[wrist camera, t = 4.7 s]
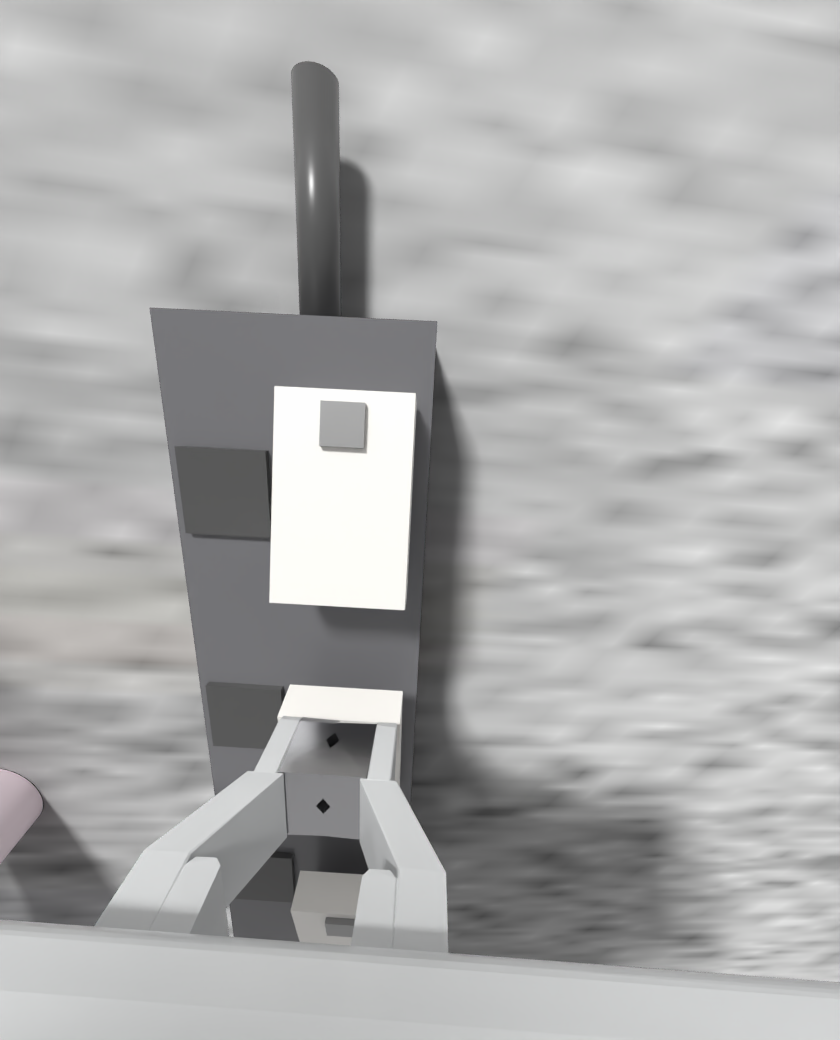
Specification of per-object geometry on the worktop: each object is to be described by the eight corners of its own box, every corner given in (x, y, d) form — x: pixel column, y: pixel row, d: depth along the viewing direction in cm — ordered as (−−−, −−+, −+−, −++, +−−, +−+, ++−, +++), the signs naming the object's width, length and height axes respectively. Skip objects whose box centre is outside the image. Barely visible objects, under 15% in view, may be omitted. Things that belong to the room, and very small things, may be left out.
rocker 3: (300, 870, 13) (288, 917, 12) (394, 876, 13) (391, 924, 12) (313, 926, 15) (304, 970, 14) (393, 931, 15) (390, 976, 14)
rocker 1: (289, 396, 10) (271, 383, 9) (416, 403, 10) (415, 391, 9) (284, 591, 10) (266, 604, 9) (406, 598, 10) (404, 612, 9)
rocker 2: (289, 684, 11) (274, 722, 10) (402, 691, 11) (399, 730, 10) (307, 782, 13) (296, 821, 12) (399, 788, 13) (396, 828, 12)
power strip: (213, 117, 12) (96, -39, 7) (447, 127, 11) (456, -26, 7) (272, 842, 20) (232, 952, 16) (407, 851, 20) (401, 963, 16)
